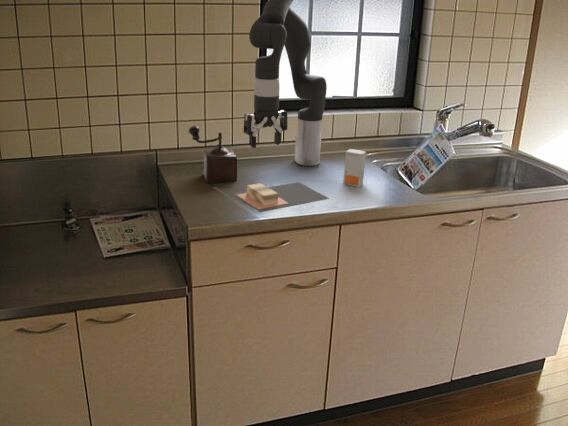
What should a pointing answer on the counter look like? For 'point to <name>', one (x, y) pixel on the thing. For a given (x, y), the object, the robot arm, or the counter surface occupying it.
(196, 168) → the counter surface
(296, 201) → the rubber mat
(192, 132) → the manual coffee grinder
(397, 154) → the counter surface
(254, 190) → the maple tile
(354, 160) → the skincare box
